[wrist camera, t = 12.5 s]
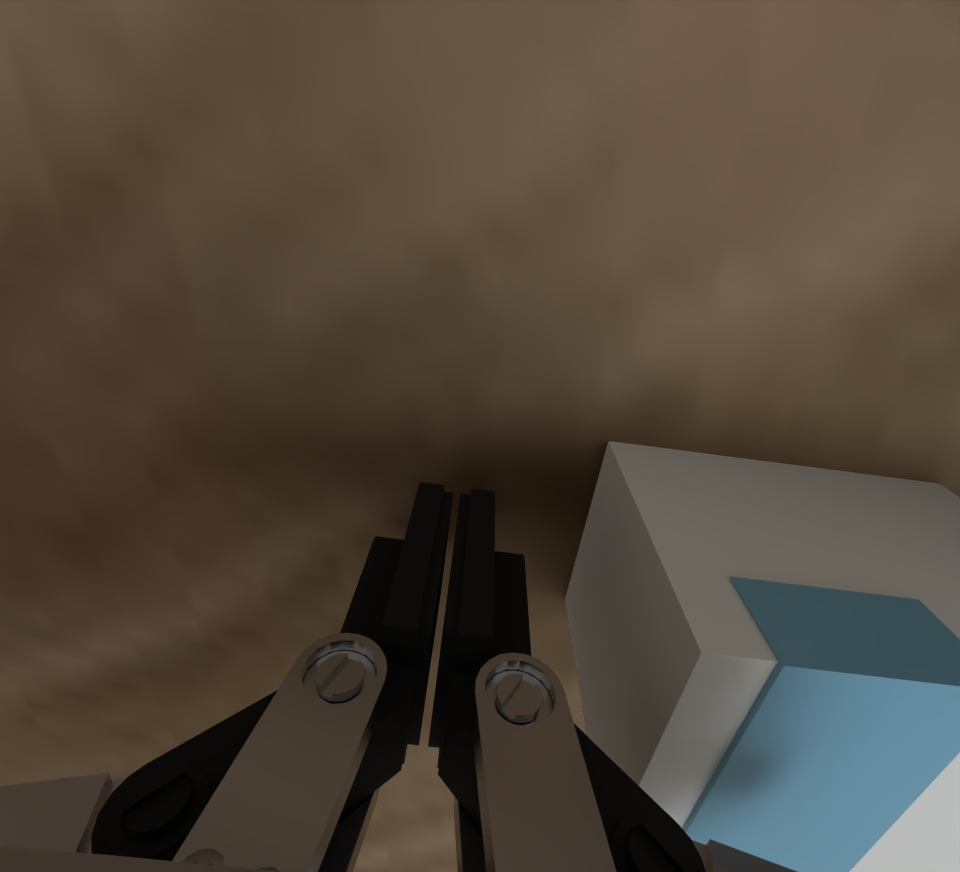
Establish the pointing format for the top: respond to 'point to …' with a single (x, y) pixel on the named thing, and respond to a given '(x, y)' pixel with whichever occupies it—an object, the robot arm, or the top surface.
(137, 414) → the top surface
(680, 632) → the block
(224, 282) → the top surface
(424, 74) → the top surface
